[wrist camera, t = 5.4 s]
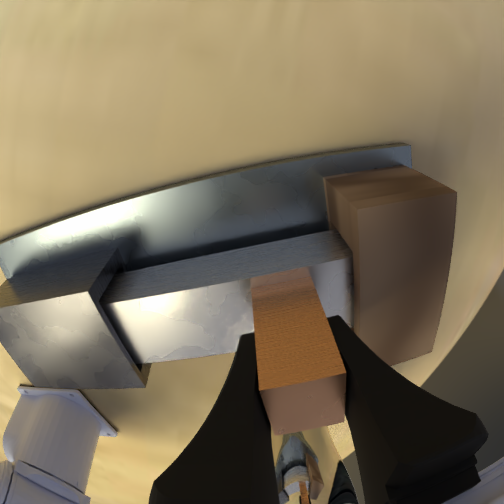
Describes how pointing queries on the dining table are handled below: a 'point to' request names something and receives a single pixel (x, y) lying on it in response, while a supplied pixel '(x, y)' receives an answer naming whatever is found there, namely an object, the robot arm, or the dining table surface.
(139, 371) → the outer sleeve
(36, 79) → the dining table surface
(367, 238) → the socket block
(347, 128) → the dining table surface
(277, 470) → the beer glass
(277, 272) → the grey slider with handle
